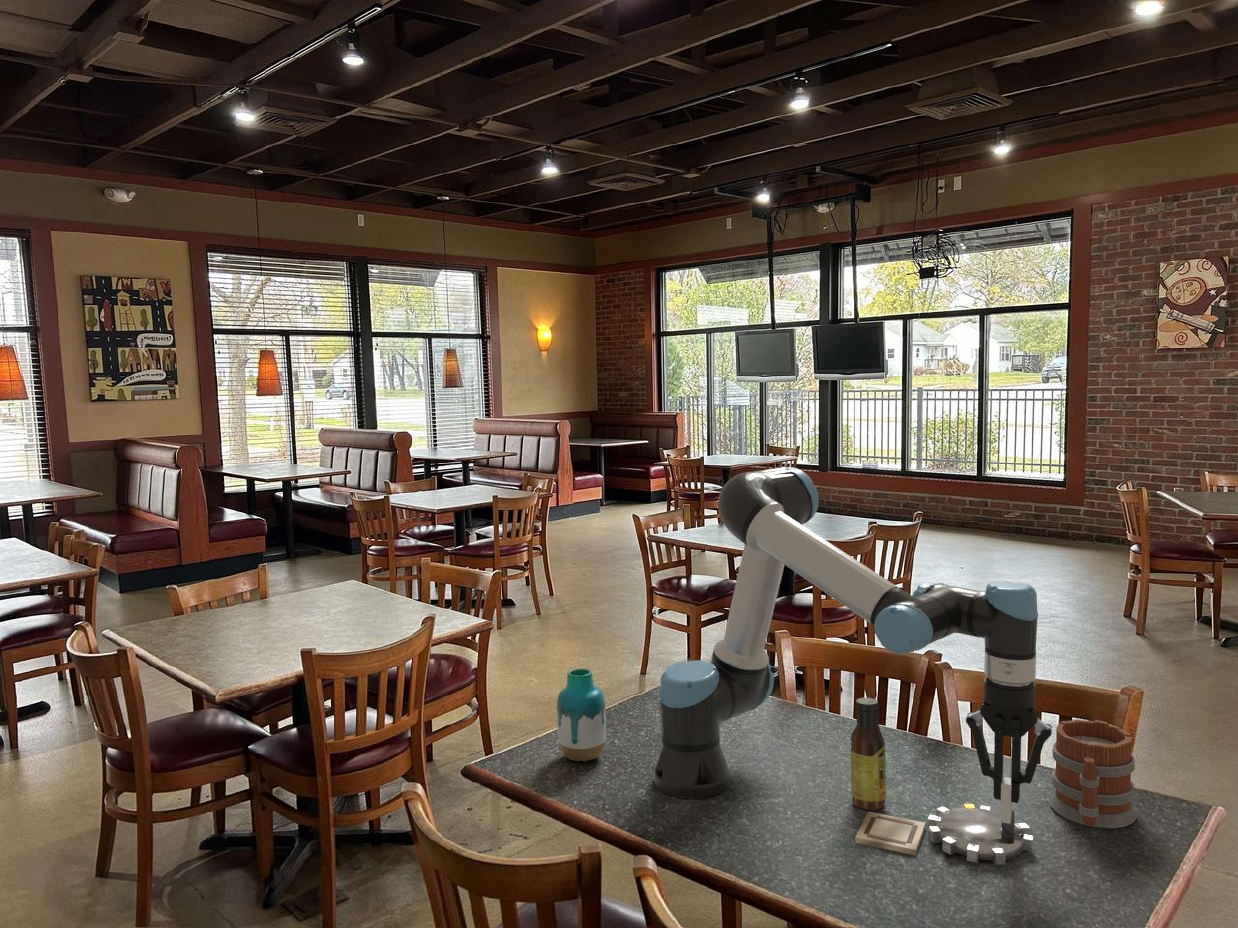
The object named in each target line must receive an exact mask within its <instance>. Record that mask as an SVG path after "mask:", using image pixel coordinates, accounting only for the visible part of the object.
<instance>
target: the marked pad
mask: <svg viewBox="0 0 1238 928" xmlns="http://www.w3.org/2000/svg"><path fill="white" fill-rule="evenodd" d="M925 831H926V822H925V821H919V820H913V819H908V818H903V817H899V816H893V815H887V814H883V813H878V812H873V811H867V813H866V816H865V817H864V819H863V821H862V823H861V825H860V826H859V829H858V831H857V834H856V835H855V841H854V842H855V843H856V844H860V845H865V846H868V847H869V846H870V847H874V848H878V849H884V850H889V851H893V852H899V853H900V854H901V853H902V854H907V855H913V856H917V853H918V850H919V847H920V844H921V842H922V838H923V836H924V833H925Z"/></svg>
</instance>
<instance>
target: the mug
mask: <svg viewBox="0 0 1238 928" xmlns="http://www.w3.org/2000/svg"><path fill="white" fill-rule="evenodd" d="M1055 728H1056V730H1055V732H1056V733H1055V737H1056V739H1055V741H1054V743H1053V744H1052V759H1053V761H1055V768H1054V769H1053V771H1052V773H1051V774H1052V780H1051V781H1052V782H1051V783H1052V785H1053V787H1054V791H1053V793H1052V794H1051V796H1050V797H1049V802H1048V803H1049V805H1050V807H1051V809H1053V810H1054V811H1055V812H1056V813H1057V814H1058V815H1059V816H1061V817H1062V818H1063V819H1066V820H1068V821H1069V822H1072V823H1074V824H1077V825H1081V826H1084V827H1089V828H1095V829H1104V830H1105V829H1106V830H1115V829H1122V828H1125V827H1128V826H1130V825H1132V824H1133V823H1134V822H1136V819H1137V816H1138V815H1137V813H1136V811H1135V809H1134V807H1133V806H1132V803H1131V801H1133V799H1134V797H1135V785H1134V782H1133V781H1132V773H1133V772H1134V771H1135V768H1136V767H1135V764H1136V762H1135V761H1136V758H1135V755H1134V754H1133V752H1132V735H1131V733H1130V732H1128V731H1126V730H1124V729H1123V728H1121V727H1120V726H1117V725H1112V724H1110V722H1107V721H1104V720H1103V721H1102V720H1097V719H1094V721H1093V720H1087V719H1086V720H1084V719H1083V720H1082V719H1073V720H1067V721H1066V720H1063V721H1060V722H1059V723H1058V724H1057V726H1056V727H1055Z"/></svg>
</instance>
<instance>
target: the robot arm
mask: <svg viewBox="0 0 1238 928" xmlns="http://www.w3.org/2000/svg"><path fill="white" fill-rule="evenodd" d="M717 501H718V504H717V505H718V506H717V507H718V514H719V516H720V519H721V520H720V521H722V523H723V525H724V526H725V528H726V529H727V530H728V532H729V533H730V534H731V535H733V537H734V538H736V539H737V540H738V541H740V542H741V543H743V544H744V546H743V551H742V555H741V560H740V564H739V568H738V573H737V578H736V581H735V587H734V591H733V594H732V599H731V602H730V603H731V604H730V608H729V613H728V617H727V622H726V626H725V630H724V635H723V639H720V640H719V641H717V642H716V643H715V644H714V645H713V650H712V655H711V659H710V662H709V661H706V660H696V659H695V660H694V659H693V660H689V661H681V662H678V663H675V664H673V665H671V666H669V667H668V668H666V670H664V672H663V673H662V674H661V676H660V685H659V692H658V693H659V694H658V695H659V704H660V705H659V706H660V707H659V708H660V728H661V729H660V730H661V747H660V750H659V753H658V756H657V761H656V764H655V766H654V770H653V780H654V781H653V782H655V783H654V786H655V785H656V786H657V787H656V786H655V787H656V788H657V789H658V790H659V791H660V792H662V793H664V794H665V793H666V794H665V795H668V796H671V797H674V796H677V797H676V798H679V797H683V798H682V799H688V798H691V800H693V799H696V800H697V799H705V798H711V797H714V796H717V795H719V794H721V793H722V792H723V793H724V791H725V790H727V789H728V787H729V786H730V769H729V766H728V763H727V761H726V758H725V755H724V752H723V749H722V747H721V742H720V741H721V740H720V739H721V738H720V734H721V733H720V724H721V723H724V722H725V721H728V720H730V719H733V718H736V717H738V716H740V715H742V714H745V713H747V712H750V711H753V710H755V709H757V708H759V706H761V705H762V704H764V703H765V702H766V701H767V700H768V699H769V698H770V696H771V694H772V692H773V688H774V683H775V679H774V678H775V677H774V673H773V672H772V671H771V669H772V666H771V664H770V662H769V661H770V658H769V655H768V653H766V651H765V646H766V642H767V638H768V635H769V632H770V631H769V630H770V627H771V621H772V619H773V614H774V610H775V605H776V601H777V597H778V594H779V589H780V586H781V585H780V584H781V582H782V578H783V577H782V576H783V573H784V568H785V566H786V567H787V568H788V569H791V571H793V572H795V573H796V574H798V575H799V576H800V577H802V578H803V579H804V580H807V581H808V582H809V583H810V584H812V585H814V586H815V587H816V588H818V589H819V590H821V591H822V592H824V593H825V594H827V595H828V596H829V597H831V598H833V599H834V600H836V601H837V602H838V603H840V604H841V605H842V606H844V607H845V608H847V609H848V610H850V611H851V612H853V613H854V614H855V615H857V616H859V617H860V618H862V619H863V620H864V621H865V622H867V623H869V624H870V625H872V626H873V627H874V633H875V636H876V638H877V639H878V641H879V643H880V644H881V646H882V647H884V649H885V650H887V651H889V652H891V653H894V654H900V655H901V654H908V653H912V652H917V651H920V650H923V649H924V648H926V647H927V646H928V645H930V644H933V643H934V642H936V641H939V640H942V639H944V638H946V637H948V636H950V635H954V634H962V635H966V636H970V637H976V638H982V639H984V667H983V673H984V675H985V677H984V679H983V703H982V704H981V706H980V708H979V710H977V711H975V712H973V711H972V712H968V713H967V715H966V717H965V723H966V724H967V726H968V727H969V729H970V730H971V733H972V735H973V736H972V737H973V741H974V745H975V750H976V753H977V758H978V762H979V766H980V770H981V773H982V775H983V776H984V777H985V776H986V777H989V778H991V779H992V780H993V794H992V795H993V798H994V800H998V801H1000V812H999V813H1000V822H1004V823H1009V824H1010V822H1011V817H1012V811H1013V810H1012V809H1013V806H1012V805H1013V803H1015V804H1018V803H1019V801H1020V794H1021V792H1020V791H1021V784H1028V785H1029V784H1031V783H1032V781H1033V778H1034V776H1035V772H1036V769H1037V766H1038V764H1039V759H1040V757H1041V754H1042V750H1043V747H1044V744H1045V743H1046V742H1047V741H1048V739H1049V738H1050V737H1051V736H1052V734H1053V726H1052V725H1051V724H1050V723H1045V722H1044V721H1042V720H1041V719H1040V718H1039V716H1038V713H1037V711H1036V705H1035V704H1036V683H1034V681H1036V679H1037V678H1036V675H1037V669H1036V668H1037V636H1038V635H1037V633H1038V631H1037V630H1038V619H1039V611H1038V597H1037V596H1038V595H1037V591H1036V589H1035V588H1034V587H1033V586H1031V585H1030V584H1027V583H1025V582H1021V581H1013V580H1011V581H1008V580H995V581H991V582H989V583H988V584H987V585H986V588H985V591H983V590H977V589H972V588H965V587H961V586H960V587H959V586H955V585H954V586H953V585H949V584H946V583H942V582H937V583H934V582H922V583H921V584H919V585H918V586H917V588H916V589H915V590H914V591H913V592H912V595H911V594H910V593H908V592H907V591H905V590H903V589H902V588H900V587H898V586H897V585H896V584H894V583H892V582H891V581H889V580H888V579H886V578H885V577H883V576H881V575H880V574H878V572H875V571H874V570H872V569H870V568H869V567H868V566H866V565H865V564H863V563H861V562H860V561H858V559H857V560H856V558H853V557H852V556H851V555H849V554H848V553H846V552H844V551H843V550H842V549H840V548H838V547H837V546H835V545H834V544H833V543H830V542H829V541H828V540H827V539H825V538H823V537H821V536H820V535H818V534H817V533H815V532H814V531H812V530H811V529H809V528H808V527H806V526H804V525H803V524H807V523H808V522H809V521H810V520H811V519H812V518H814V517H815V515H816V514H817V511H818V508H819V493H818V490H817V486H816V485H814V482H813V480H812V479H811V477H810V476H809V475H808V474H807V473H805V472H804V471H803V470H801V469H799V468H797V467H792V466H787V467H785V466H776V467H774V468H769V469H763V470H762V469H761V470H755V471H746V472H742V473H738V474H736V475H735V476H733V477H731V478H730V479H728V481H726V483H725V484H724V485H723V487H722V489H721V490H720V493H719V497H718V500H717ZM983 720H984V721H985V723H986V724H987V725H988V727H989V729H991V730H992V732H993V733H994V735H993V737H994V738H993V739H994V748H993V749H994V750H993V752H994V754H993V766H992V764H991V759H990V756H989V752H988V748H987V744H986V740H985V739H986V738H985V735H984V731H983V730H984V729H983V726H982V725H983ZM1033 727H1035V729H1034V734H1035V735H1036V736H1035V737H1034V738H1035V739H1034V741H1033V745H1032V748H1031V751H1030V755H1029V757H1028V761H1027V763H1026V767H1025V770H1024V771H1021V760H1022V756H1021V755H1022V738H1023V737H1024V736H1025V735H1026V734H1027V733H1028V732H1029V731H1030V730H1031V729H1032V728H1033ZM1006 736H1008V737H1010V738H1011V764H1010V765H1011V771H1010V774H1011V775H1010V777H1007V776H1003V775H1004V750H1005V749H1004V747H1005V737H1006Z"/></svg>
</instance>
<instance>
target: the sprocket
mask: <svg viewBox="0 0 1238 928" xmlns="http://www.w3.org/2000/svg"><path fill="white" fill-rule="evenodd" d="M991 809H992V808H991V806H987V805H980V807H979V808H977V807H975V805H974V804H973V803H963V807H955V808H949V809H948V808H947V807H944V806H940V807H937V808H936V815H932V814H929V816H928V818H927V830H929V834H928V835H929V840H930V841H931V842H932V843H941V845H942V851H943V852H944V853H947V854H948V855H953V854H955V853H957V854H960V855H962V856H964V857H965V856H966V861H967V862H972V863H976V864H978V862H979V860H983V861H984V860H985V861H992V862H993V863H994V865H996V866H997V865H1006V860H1009V859H1012V858H1015V857H1017V856H1019V855H1020V854H1021V853H1023V851H1026V852H1030V853H1031V852H1032V853H1033V848H1034V835H1030V834H1031V833H1030V832H1031V829H1030V828H1031V827H1030V826H1029V825H1028V824H1027V823H1026V822H1017V821H1015V815H1016V813H1015V812H1014V810H1012V817H1011V822H1010V824H1009V823H1004V822H1000V812H997V811H993V810H991Z"/></svg>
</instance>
